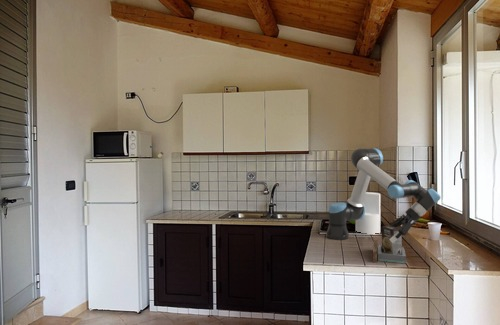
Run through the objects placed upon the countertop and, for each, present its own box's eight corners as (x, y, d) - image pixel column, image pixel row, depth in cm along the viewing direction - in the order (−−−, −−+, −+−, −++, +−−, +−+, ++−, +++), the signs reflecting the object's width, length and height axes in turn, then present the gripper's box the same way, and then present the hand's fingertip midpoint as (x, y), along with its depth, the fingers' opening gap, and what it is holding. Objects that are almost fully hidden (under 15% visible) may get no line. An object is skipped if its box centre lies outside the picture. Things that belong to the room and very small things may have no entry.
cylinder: (362, 227, 270) (362, 191, 268) (384, 231, 257) (384, 193, 256) (351, 231, 258) (351, 193, 256) (373, 235, 245) (373, 196, 244)
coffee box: (381, 254, 201) (381, 226, 200) (390, 252, 203) (390, 225, 202) (392, 258, 192) (393, 229, 191) (402, 257, 194) (402, 228, 194)
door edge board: (372, 262, 190) (372, 251, 190) (373, 249, 212) (374, 240, 212) (376, 262, 189) (376, 251, 189) (377, 250, 211) (377, 240, 211)
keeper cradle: (377, 260, 192) (377, 253, 192) (378, 251, 208) (378, 245, 208) (405, 263, 187) (405, 256, 187) (403, 254, 203) (404, 247, 203)
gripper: (429, 221, 183) (399, 249, 185) (412, 212, 207) (386, 237, 210) (419, 211, 183) (389, 239, 185) (403, 203, 208) (376, 228, 210)
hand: (387, 238), depth 197 cm, fingers open, 13 cm apart
